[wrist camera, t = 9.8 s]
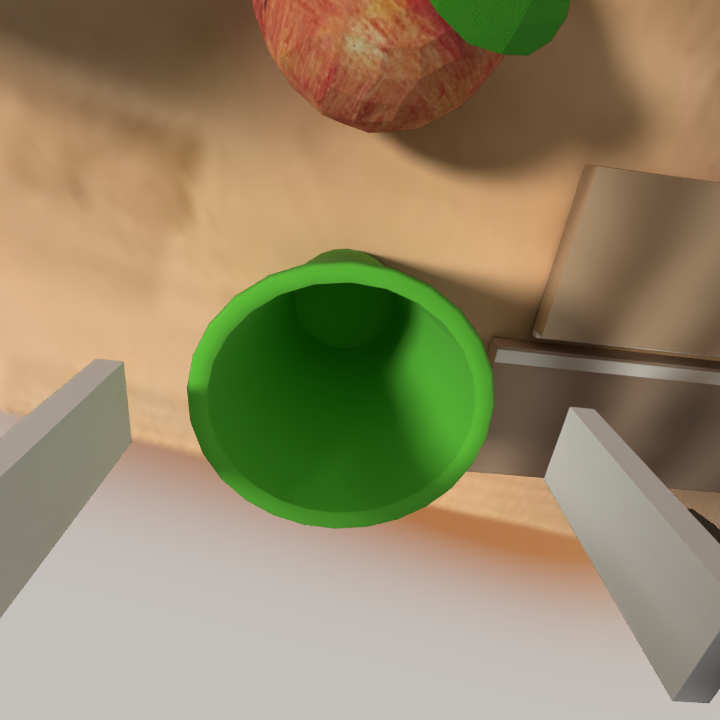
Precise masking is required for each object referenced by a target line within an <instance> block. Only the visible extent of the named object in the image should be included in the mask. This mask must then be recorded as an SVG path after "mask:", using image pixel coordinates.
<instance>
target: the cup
mask: <svg viewBox="0 0 720 720" xmlns="http://www.w3.org/2000/svg"><path fill="white" fill-rule="evenodd" d="M187 394H188V403H189V413H190V421H191V424H192V427H193V429H194V432H195V434H196V437H197V439H198V442H199V444H200V447H201V450H202V452H203V454H204V456H205V457H206V458H207V460H208V461H209V462H210V464H211V465H212V467H213V468H214V469H215V471H216V472H217V473H218V475H219V476H220V478H221V479H222V480H223V481H224V482H226V483H227V484H228V485H229V486H230V487H231V488H233V489H234V490H235V491H236V492H237V493H238V494H239V495H241V496H242V497H243V498H244V499H246V500H247V501H249V502H251V503H252V504H254V505H256V506H258V507H260V508H262V509H263V510H265V511H267V512H269V513H271V514H273V515H275V516H278V517H281V518H285V519H288V520H291V521H294V522H297V523H301V524H304V525H311V526H320V527H327V528H351V527H367V526H371V525H375V524H380V523H384V522H388V521H392V520H397V519H399V518H401V517H404V516H406V515H408V514H410V513H413V512H415V511H417V510H419V509H421V508H424V507H426V506H427V505H429V504H430V503H431V502H433V501H434V500H436V499H437V498H438V497H440V496H441V495H443V494H444V493H445V492H447V491H448V490H449V489H451V488H452V487H453V486H454V485H455V483H456V482H457V481H458V480H459V479H460V478H461V477H462V476H463V474H464V473H465V472H466V471H467V470H468V469H469V468H470V466H471V465H472V464H473V462H474V460H475V458H476V456H477V454H478V452H479V450H480V448H481V447H482V445H483V443H484V441H485V439H486V437H487V434H488V429H489V425H490V420H491V416H492V412H493V407H494V386H493V371H492V368H491V365H490V362H489V359H488V356H487V353H486V351H485V348H484V345H483V342H482V339H481V338H480V336H479V335H478V334H477V332H476V331H475V329H474V328H473V326H472V325H471V324H470V322H469V321H468V319H467V318H466V317H465V315H464V314H463V312H462V311H461V310H460V309H459V308H458V307H457V306H455V305H454V304H453V303H452V302H451V301H449V300H448V299H447V298H446V297H444V296H443V295H442V294H441V293H440V292H438V291H437V290H436V289H435V288H433V287H432V286H431V285H429V284H427V283H425V282H422V281H420V280H418V279H416V278H414V277H411V276H409V275H407V274H405V273H403V272H401V271H398V270H396V269H394V268H389V267H385V266H384V265H383V264H381V263H380V262H379V261H377V260H376V259H375V258H374V257H372V256H370V255H367V254H365V253H363V252H361V251H356V250H351V249H337V250H332V251H328V252H325V253H322V254H320V255H318V256H317V257H315V258H313V259H312V260H310V261H309V262H307V263H306V264H304V265H301V266H298V267H294V268H291V269H288V270H285V271H281V272H278V273H275V274H272V275H269V276H267V277H266V278H264V279H262V280H261V281H259V282H257V283H256V284H254V285H252V286H251V287H249V288H248V289H246V290H244V291H243V292H241V293H239V294H238V295H236V296H235V297H234V298H233V299H232V300H231V301H230V302H229V303H228V304H227V305H226V306H225V307H224V308H223V310H222V311H221V312H220V313H219V314H218V315H217V316H216V317H215V318H214V319H213V320H212V321H211V322H210V323H209V325H208V327H207V329H206V331H205V333H204V335H203V337H202V339H201V341H200V343H199V345H198V347H197V348H196V350H195V352H194V354H193V358H192V364H191V369H190V374H189V380H188V385H187Z"/></svg>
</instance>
